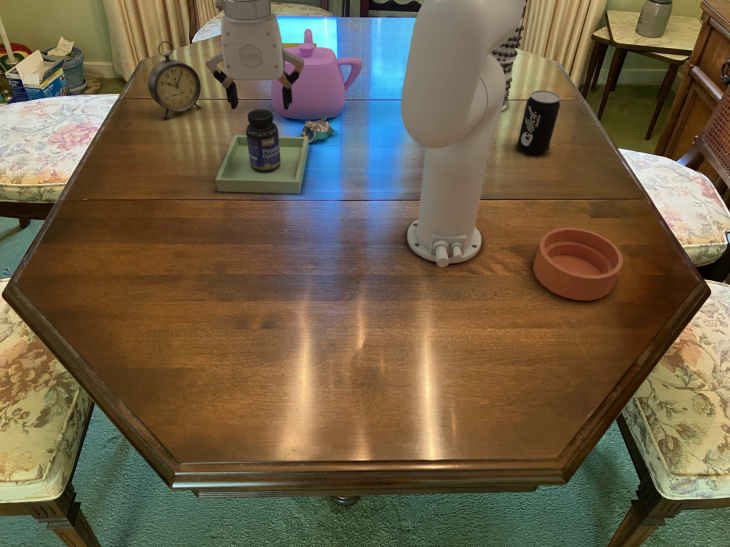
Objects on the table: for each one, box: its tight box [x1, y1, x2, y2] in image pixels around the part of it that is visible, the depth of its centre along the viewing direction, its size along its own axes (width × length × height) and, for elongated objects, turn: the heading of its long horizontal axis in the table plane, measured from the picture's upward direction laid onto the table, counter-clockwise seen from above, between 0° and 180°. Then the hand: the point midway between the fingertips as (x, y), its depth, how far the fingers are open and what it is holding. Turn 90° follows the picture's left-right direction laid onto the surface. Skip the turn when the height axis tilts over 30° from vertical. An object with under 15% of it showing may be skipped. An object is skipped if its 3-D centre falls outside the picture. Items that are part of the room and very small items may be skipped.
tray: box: [215, 134, 310, 195], centre depth 110 cm, size 18×16×3 cm
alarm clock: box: [147, 40, 202, 120], centre depth 124 cm, size 11×5×16 cm, turn 131°
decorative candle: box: [489, 1, 528, 112], centre depth 127 cm, size 9×9×25 cm
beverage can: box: [517, 89, 561, 156], centre depth 115 cm, size 7×7×12 cm
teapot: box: [270, 28, 363, 120], centre depth 129 cm, size 23×21×15 cm
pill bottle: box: [245, 108, 281, 173], centre depth 107 cm, size 6×6×11 cm
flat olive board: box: [228, 42, 318, 67], centre depth 154 cm, size 12×2×24 cm
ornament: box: [300, 118, 335, 144], centre depth 120 cm, size 8×7×4 cm
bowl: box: [532, 226, 624, 302], centre depth 87 cm, size 12×12×5 cm
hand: (261, 106), depth 102 cm, fingers open, 9 cm apart
